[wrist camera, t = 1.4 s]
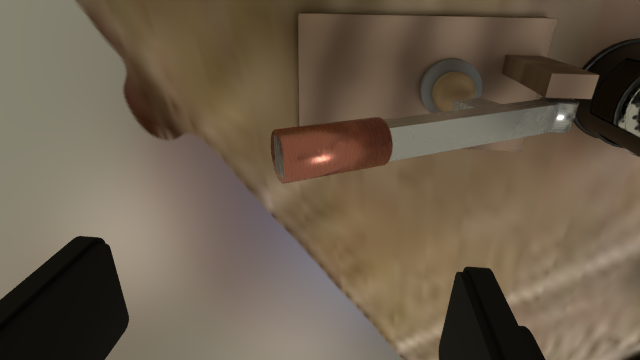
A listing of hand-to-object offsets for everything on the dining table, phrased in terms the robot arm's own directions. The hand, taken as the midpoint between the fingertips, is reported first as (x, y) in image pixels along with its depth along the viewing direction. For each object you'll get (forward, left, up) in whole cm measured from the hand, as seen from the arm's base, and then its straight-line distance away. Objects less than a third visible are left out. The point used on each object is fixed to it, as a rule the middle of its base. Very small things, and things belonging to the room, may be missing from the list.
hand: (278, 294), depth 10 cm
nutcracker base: (-7, 0, -30) cm, 31 cm away
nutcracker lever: (-6, 0, -18) cm, 19 cm away
